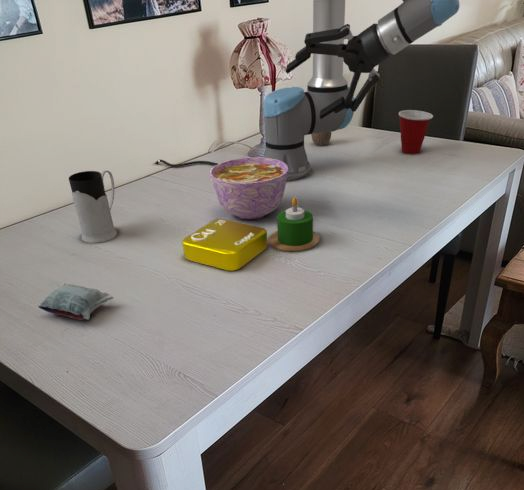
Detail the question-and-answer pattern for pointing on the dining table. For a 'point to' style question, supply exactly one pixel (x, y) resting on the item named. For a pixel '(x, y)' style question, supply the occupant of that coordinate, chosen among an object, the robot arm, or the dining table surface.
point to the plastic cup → (413, 129)
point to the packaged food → (74, 301)
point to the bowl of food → (250, 185)
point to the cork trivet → (277, 245)
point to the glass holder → (93, 206)
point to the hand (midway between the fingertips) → (304, 92)
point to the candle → (295, 226)
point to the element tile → (225, 244)
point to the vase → (321, 138)
